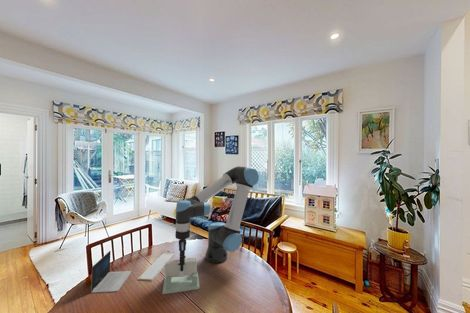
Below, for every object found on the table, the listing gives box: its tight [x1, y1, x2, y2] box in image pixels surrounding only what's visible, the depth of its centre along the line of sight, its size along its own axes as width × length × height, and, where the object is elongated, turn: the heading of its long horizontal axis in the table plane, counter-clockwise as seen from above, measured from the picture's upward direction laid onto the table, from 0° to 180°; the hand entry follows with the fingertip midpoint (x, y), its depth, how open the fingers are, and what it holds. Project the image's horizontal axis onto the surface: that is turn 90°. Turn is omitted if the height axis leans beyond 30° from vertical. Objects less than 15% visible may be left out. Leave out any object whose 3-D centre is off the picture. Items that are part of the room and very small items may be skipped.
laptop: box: [90, 250, 132, 294], centre depth 107 cm, size 18×12×13 cm
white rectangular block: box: [164, 256, 198, 279], centre depth 107 cm, size 16×4×7 cm, turn 98°
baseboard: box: [136, 250, 175, 282], centre depth 124 cm, size 30×3×10 cm
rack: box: [161, 271, 200, 295], centre depth 107 cm, size 18×14×6 cm
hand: (181, 273), depth 107 cm, fingers closed on white rectangular block, 4 cm apart
